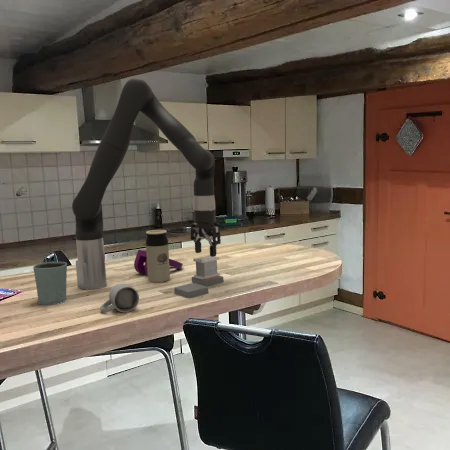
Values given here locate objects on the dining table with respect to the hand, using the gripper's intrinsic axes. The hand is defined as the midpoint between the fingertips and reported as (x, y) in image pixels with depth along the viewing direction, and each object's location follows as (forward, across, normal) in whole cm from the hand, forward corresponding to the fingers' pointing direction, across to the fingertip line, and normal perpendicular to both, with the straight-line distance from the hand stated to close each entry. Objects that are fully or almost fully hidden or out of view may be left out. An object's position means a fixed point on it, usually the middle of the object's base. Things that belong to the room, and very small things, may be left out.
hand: (205, 254), depth 175 cm
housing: (+8, 0, 0) cm, 8 cm away
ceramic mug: (+11, +6, -37) cm, 39 cm away
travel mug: (+11, -16, -10) cm, 21 cm away
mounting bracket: (+11, -26, -2) cm, 28 cm away
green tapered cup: (+11, -19, -48) cm, 52 cm away
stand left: (+10, +7, -12) cm, 17 cm away
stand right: (+10, 0, 0) cm, 10 cm away
